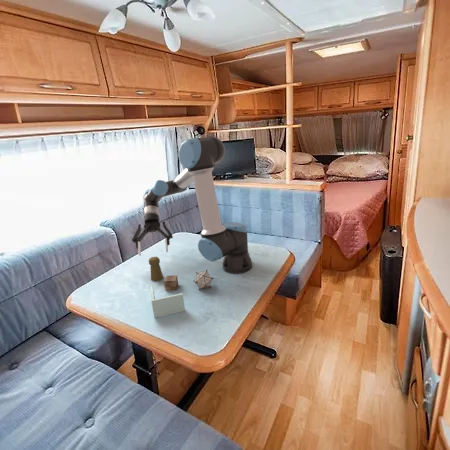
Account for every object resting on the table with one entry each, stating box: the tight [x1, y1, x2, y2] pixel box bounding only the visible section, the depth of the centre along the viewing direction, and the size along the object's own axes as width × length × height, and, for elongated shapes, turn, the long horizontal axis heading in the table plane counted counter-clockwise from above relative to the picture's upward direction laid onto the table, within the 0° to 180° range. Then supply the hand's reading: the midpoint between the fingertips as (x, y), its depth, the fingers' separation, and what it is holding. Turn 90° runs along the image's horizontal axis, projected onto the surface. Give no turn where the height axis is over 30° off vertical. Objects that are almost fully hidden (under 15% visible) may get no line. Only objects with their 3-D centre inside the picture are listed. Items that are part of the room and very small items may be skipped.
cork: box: [148, 256, 164, 282], centre depth 139 cm, size 6×6×11 cm
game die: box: [192, 269, 214, 291], centre depth 128 cm, size 9×8×10 cm
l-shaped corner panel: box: [149, 285, 186, 319], centre depth 116 cm, size 12×12×8 cm
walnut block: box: [163, 274, 179, 292], centre depth 130 cm, size 5×5×5 cm
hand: (153, 252), depth 144 cm, fingers open, 13 cm apart
